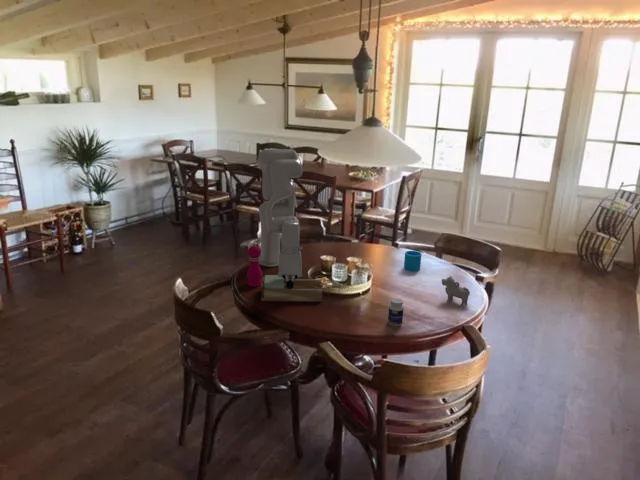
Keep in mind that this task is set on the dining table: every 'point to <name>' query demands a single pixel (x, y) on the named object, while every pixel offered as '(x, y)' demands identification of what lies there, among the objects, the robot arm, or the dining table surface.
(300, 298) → the bay
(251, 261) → the pepper mill
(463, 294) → the dog figurine
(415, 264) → the mug
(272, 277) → the grey-green block
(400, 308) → the pill bottle
